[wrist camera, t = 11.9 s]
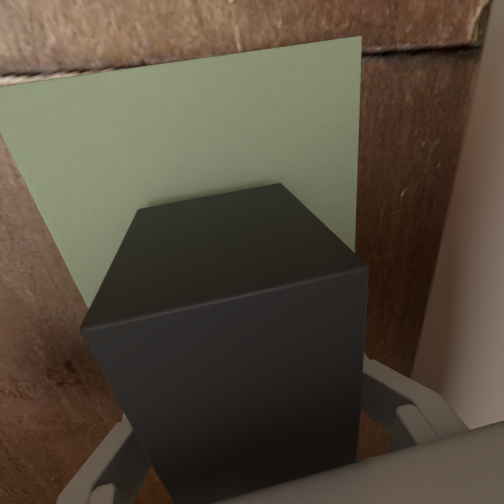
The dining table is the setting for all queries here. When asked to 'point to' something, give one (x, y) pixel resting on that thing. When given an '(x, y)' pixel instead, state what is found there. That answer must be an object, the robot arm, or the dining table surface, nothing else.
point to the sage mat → (185, 141)
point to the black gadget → (234, 341)
